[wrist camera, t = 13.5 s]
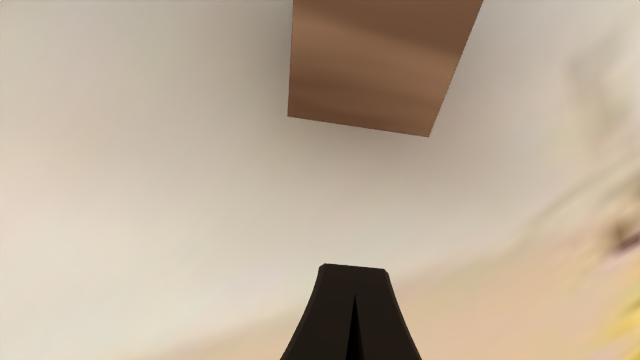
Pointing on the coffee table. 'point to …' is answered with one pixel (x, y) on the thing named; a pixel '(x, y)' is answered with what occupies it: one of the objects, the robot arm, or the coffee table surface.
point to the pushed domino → (376, 60)
